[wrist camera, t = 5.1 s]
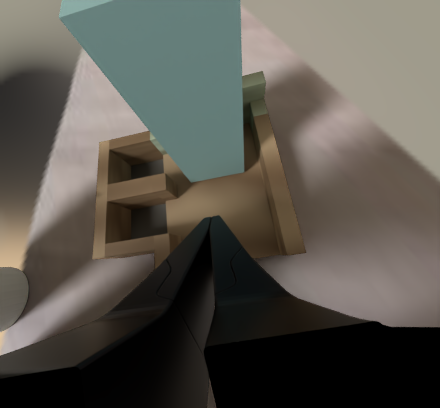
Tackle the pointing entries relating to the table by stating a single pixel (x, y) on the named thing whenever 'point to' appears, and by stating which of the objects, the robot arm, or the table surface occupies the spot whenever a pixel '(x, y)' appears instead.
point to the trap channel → (194, 193)
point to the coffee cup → (12, 295)
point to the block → (173, 73)
